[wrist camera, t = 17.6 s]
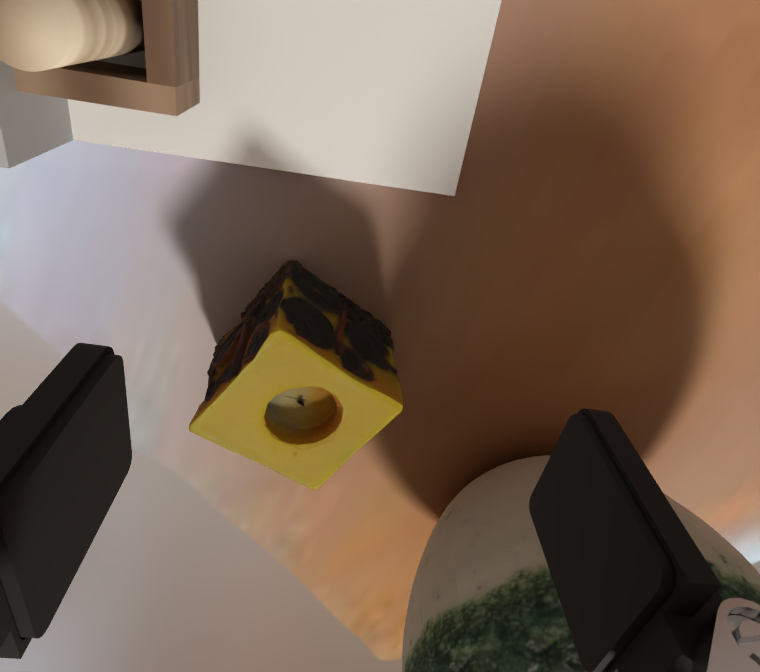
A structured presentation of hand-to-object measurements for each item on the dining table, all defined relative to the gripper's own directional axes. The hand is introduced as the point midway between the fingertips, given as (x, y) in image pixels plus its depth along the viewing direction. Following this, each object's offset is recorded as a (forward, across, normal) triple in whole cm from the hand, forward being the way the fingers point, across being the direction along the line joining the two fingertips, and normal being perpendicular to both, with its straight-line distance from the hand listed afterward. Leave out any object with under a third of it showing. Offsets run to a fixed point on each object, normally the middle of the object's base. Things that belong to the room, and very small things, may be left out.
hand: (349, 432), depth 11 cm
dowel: (+25, +13, -5) cm, 29 cm away
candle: (+27, +2, +15) cm, 31 cm away
